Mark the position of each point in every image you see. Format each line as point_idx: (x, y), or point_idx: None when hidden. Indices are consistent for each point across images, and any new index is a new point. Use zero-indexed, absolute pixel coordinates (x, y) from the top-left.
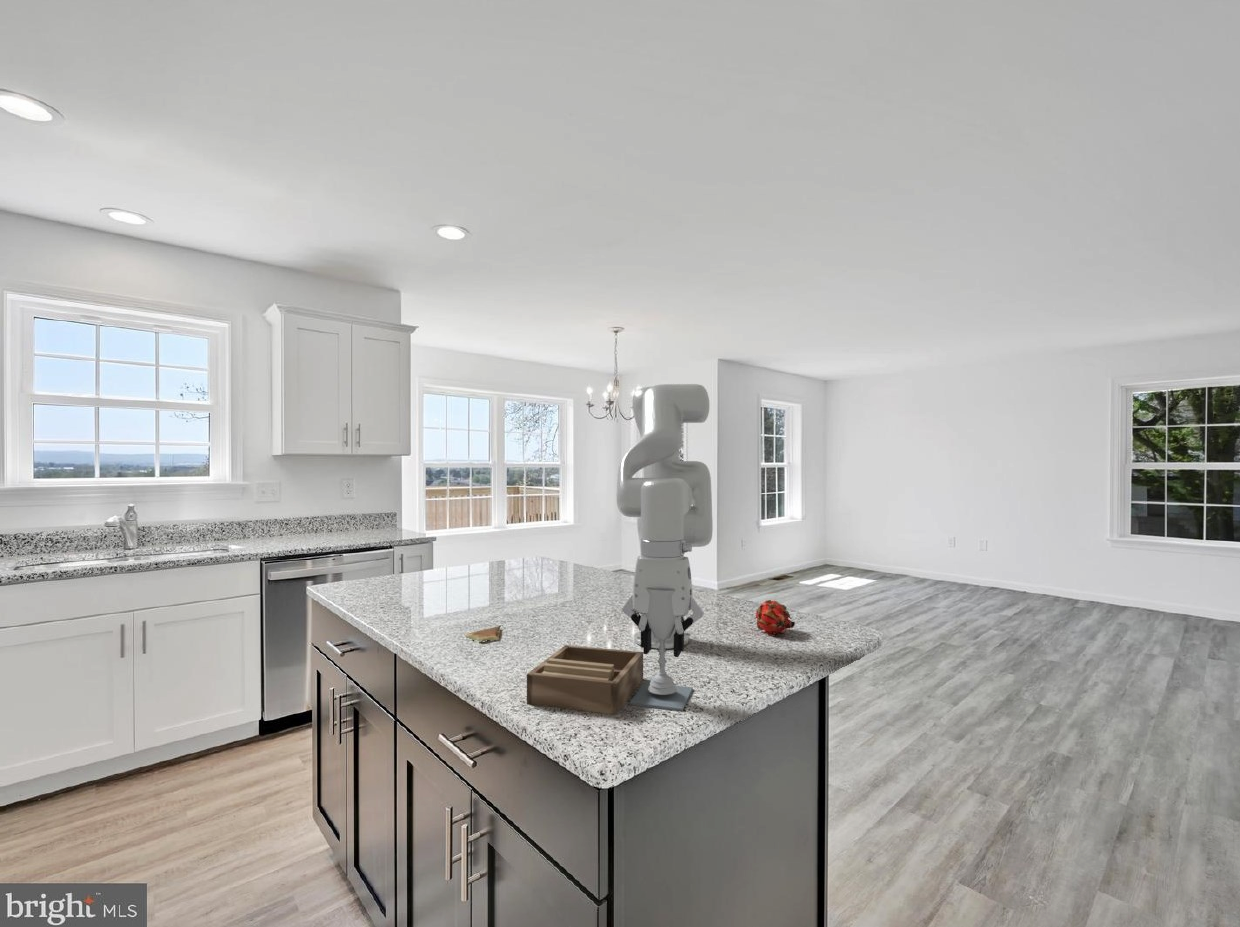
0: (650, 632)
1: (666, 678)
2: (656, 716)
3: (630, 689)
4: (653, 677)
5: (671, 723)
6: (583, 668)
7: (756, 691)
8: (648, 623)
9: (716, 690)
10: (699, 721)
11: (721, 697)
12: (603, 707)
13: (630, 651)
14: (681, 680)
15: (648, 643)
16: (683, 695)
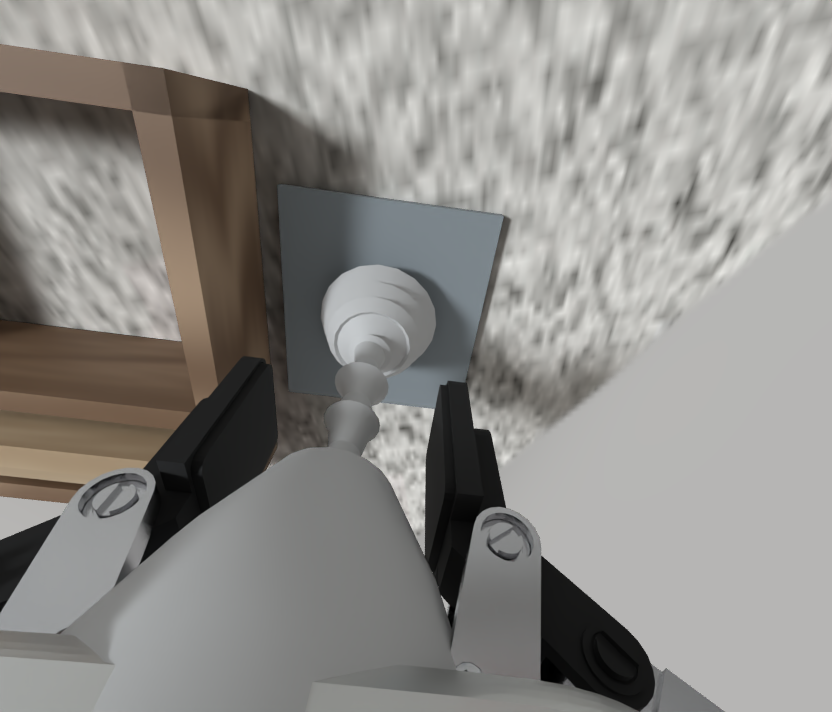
0: (220, 470)
1: (393, 365)
2: (385, 442)
3: (257, 329)
4: (336, 356)
5: None
6: (56, 473)
7: (800, 186)
8: (151, 524)
9: (609, 204)
10: (503, 454)
11: (610, 281)
12: None
13: (65, 70)
14: (451, 80)
15: (255, 463)
16: (461, 312)
